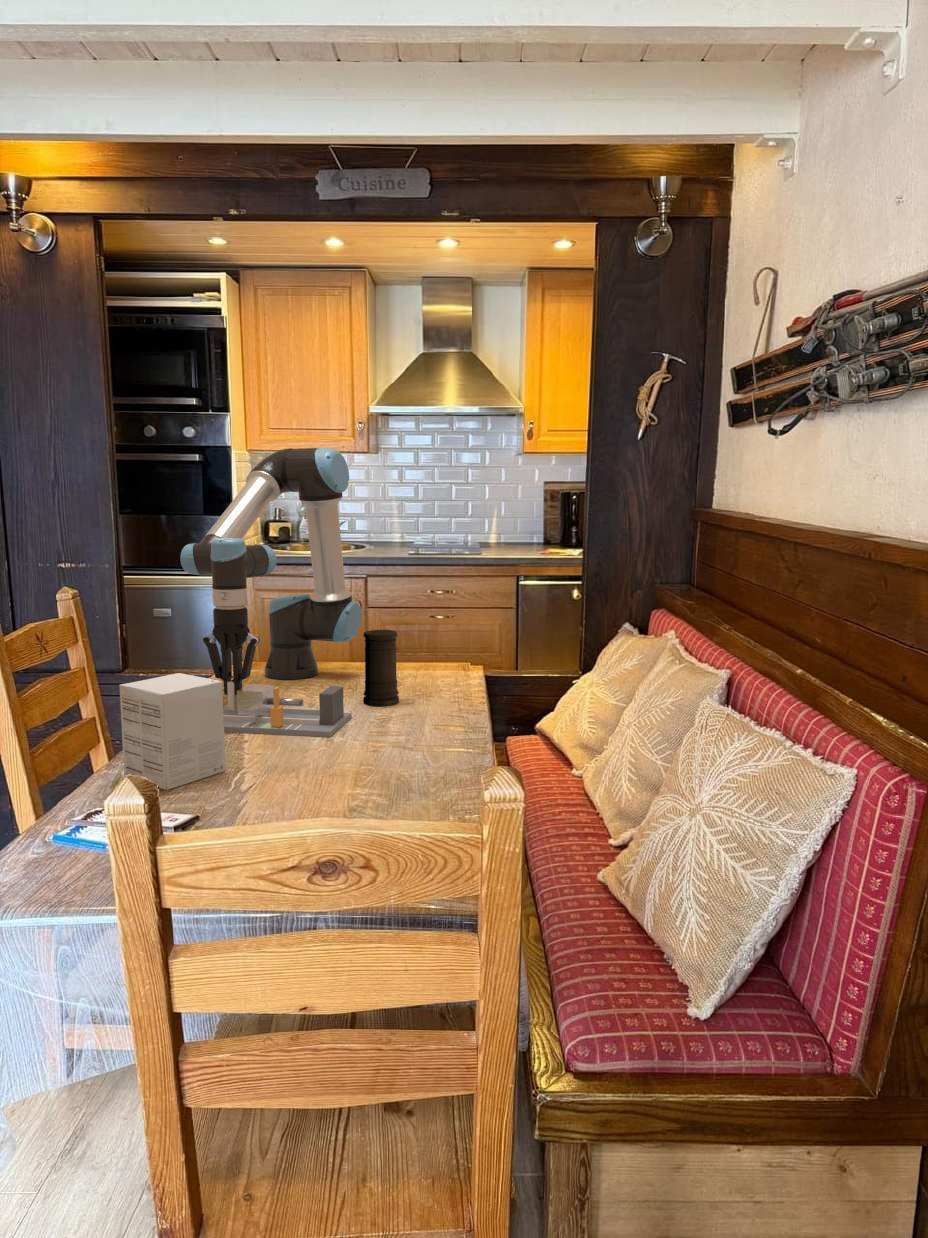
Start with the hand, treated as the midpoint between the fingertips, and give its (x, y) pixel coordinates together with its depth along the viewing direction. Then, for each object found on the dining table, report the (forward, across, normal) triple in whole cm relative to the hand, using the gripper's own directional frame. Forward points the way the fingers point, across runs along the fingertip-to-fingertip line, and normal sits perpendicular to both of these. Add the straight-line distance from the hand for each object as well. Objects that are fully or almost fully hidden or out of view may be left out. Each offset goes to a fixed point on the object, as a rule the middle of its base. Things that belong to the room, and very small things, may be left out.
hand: (233, 708), depth 192 cm
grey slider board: (+3, +10, -1) cm, 10 cm away
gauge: (+1, +9, -2) cm, 10 cm away
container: (+3, +29, +23) cm, 37 cm away
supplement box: (+3, +5, -37) cm, 37 cm away
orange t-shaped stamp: (+1, +13, -7) cm, 15 cm away
